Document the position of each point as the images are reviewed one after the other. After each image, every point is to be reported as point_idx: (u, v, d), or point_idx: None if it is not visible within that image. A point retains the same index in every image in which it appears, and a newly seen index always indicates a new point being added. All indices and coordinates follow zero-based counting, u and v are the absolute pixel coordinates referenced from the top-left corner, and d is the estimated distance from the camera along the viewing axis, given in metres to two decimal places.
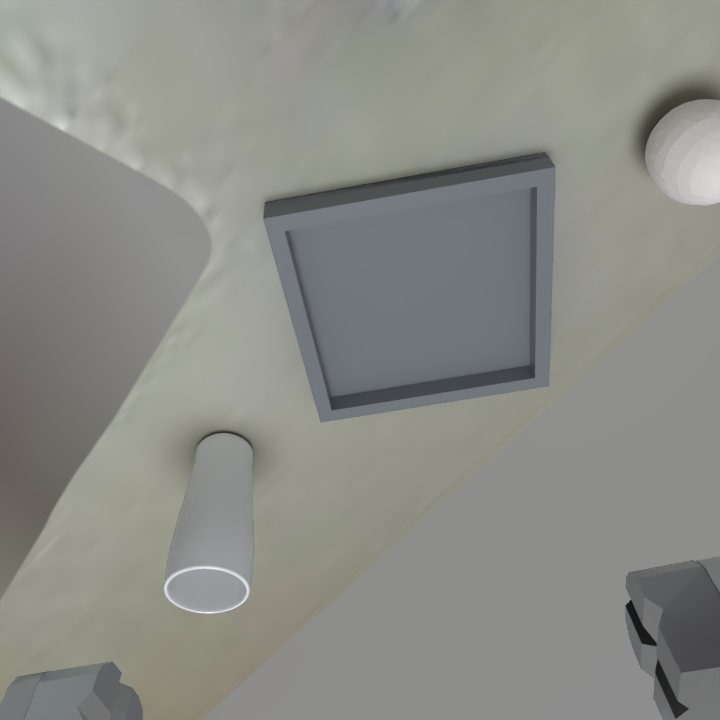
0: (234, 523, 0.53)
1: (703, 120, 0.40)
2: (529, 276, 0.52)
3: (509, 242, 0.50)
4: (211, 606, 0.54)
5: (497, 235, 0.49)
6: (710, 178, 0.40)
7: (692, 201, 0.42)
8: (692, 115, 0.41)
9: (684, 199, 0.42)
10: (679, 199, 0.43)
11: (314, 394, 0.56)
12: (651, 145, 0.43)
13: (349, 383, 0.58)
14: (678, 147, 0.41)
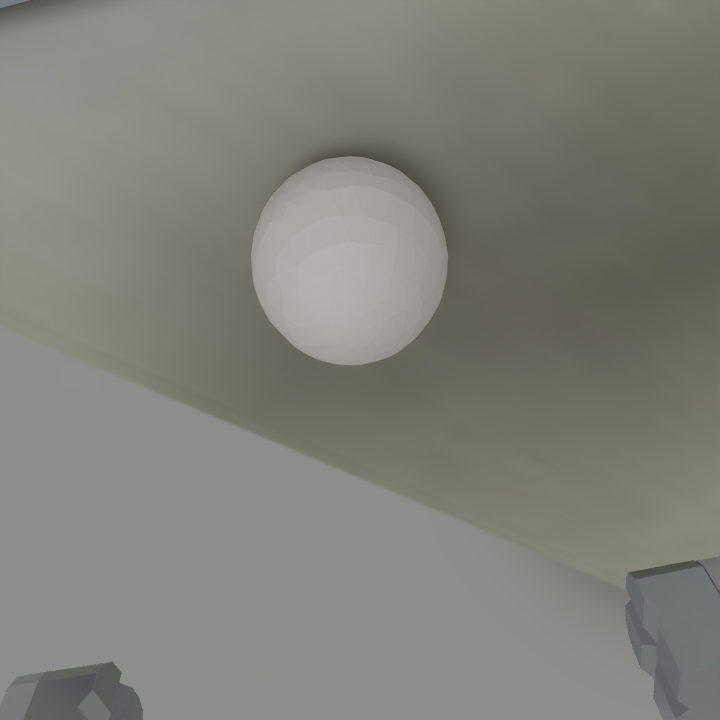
0: None
1: (436, 235, 0.20)
2: None
3: None
4: None
5: None
6: (349, 283, 0.18)
7: (275, 271, 0.19)
8: (433, 215, 0.20)
9: (274, 254, 0.19)
10: (268, 246, 0.19)
11: None
12: (357, 160, 0.20)
13: None
14: (385, 203, 0.19)
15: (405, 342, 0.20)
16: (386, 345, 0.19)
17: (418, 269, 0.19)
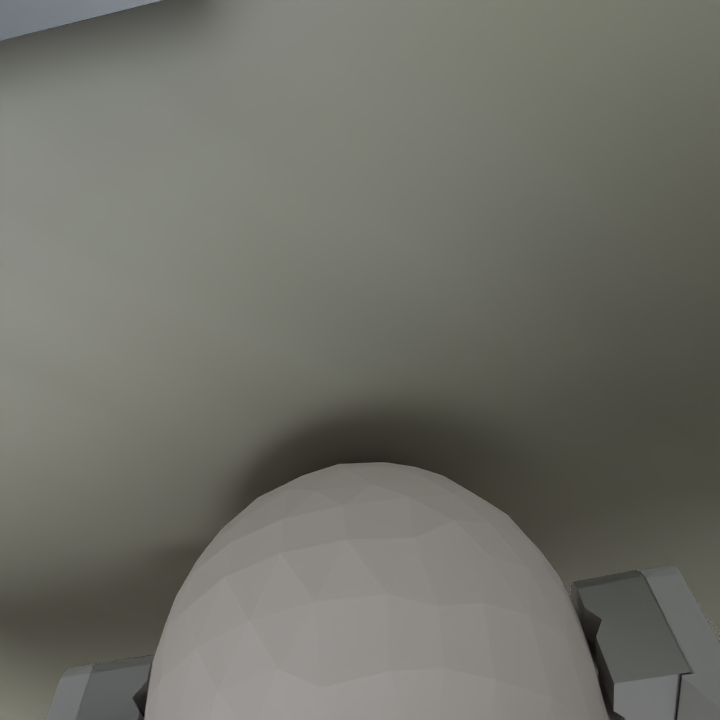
0: None
1: None
2: None
3: None
4: None
5: None
6: None
7: None
8: (582, 657, 0.08)
9: None
10: None
11: None
12: (391, 525, 0.08)
13: None
14: None
15: None
16: None
17: None
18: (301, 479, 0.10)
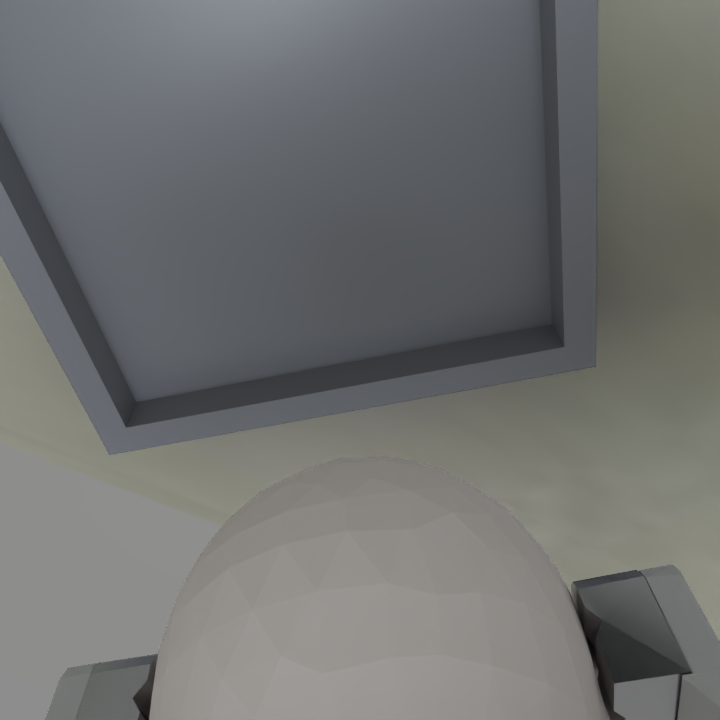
0: None
1: None
2: (349, 360, 0.27)
3: (424, 315, 0.26)
4: None
5: (440, 291, 0.26)
6: None
7: None
8: (578, 645, 0.08)
9: None
10: None
11: None
12: (392, 516, 0.08)
13: None
14: (479, 710, 0.07)
15: None
16: None
17: None
18: (303, 473, 0.10)
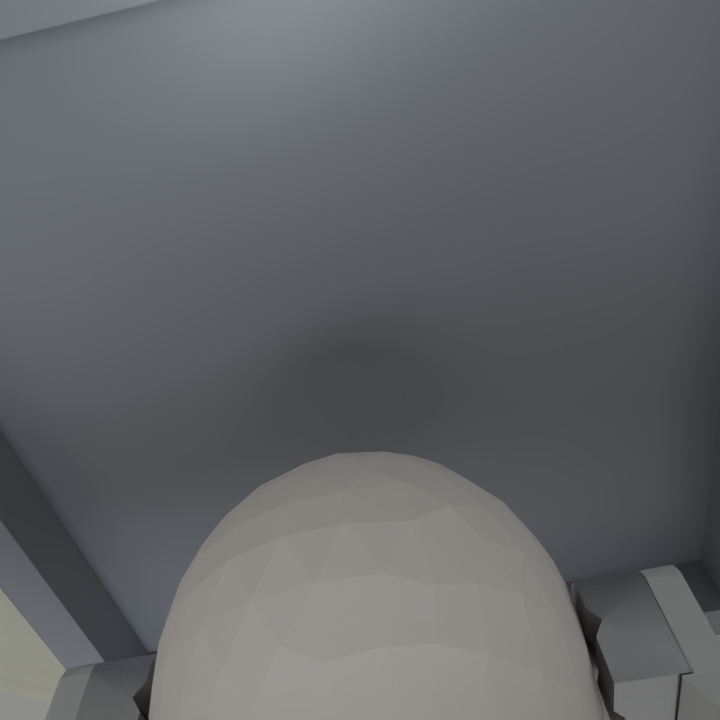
0: None
1: (591, 713, 0.08)
2: None
3: None
4: None
5: (557, 529, 0.19)
6: None
7: None
8: (574, 636, 0.08)
9: None
10: None
11: None
12: (389, 509, 0.09)
13: None
14: (474, 698, 0.07)
15: None
16: None
17: None
18: (301, 467, 0.10)
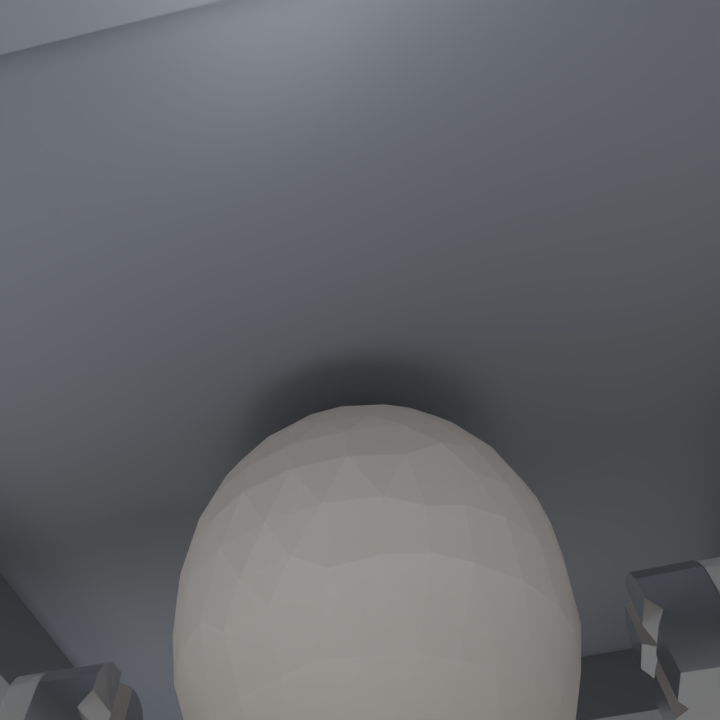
0: None
1: (567, 621, 0.09)
2: None
3: None
4: None
5: (578, 603, 0.17)
6: None
7: None
8: (553, 557, 0.09)
9: (209, 715, 0.08)
10: (197, 678, 0.09)
11: None
12: (386, 445, 0.10)
13: None
14: (461, 597, 0.08)
15: None
16: None
17: None
18: (308, 416, 0.11)
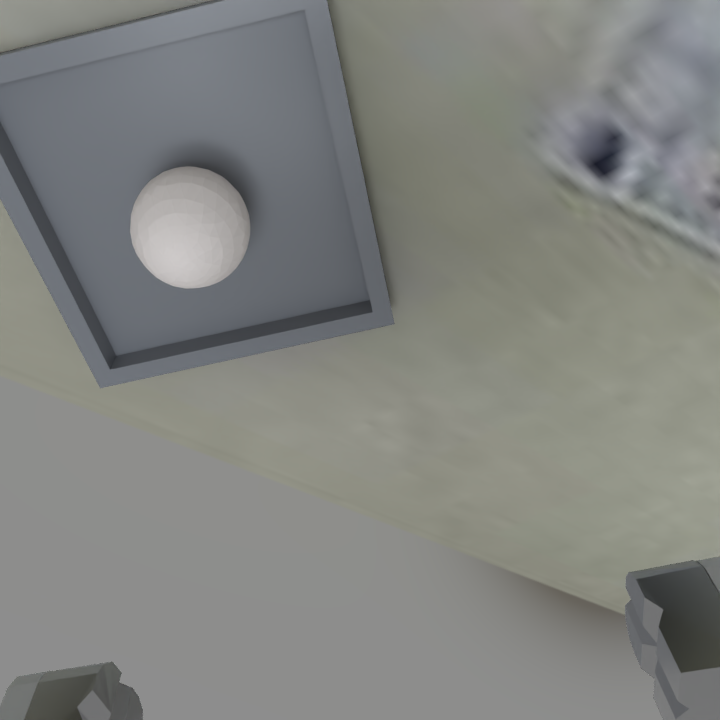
0: None
1: (232, 209, 0.35)
2: (248, 325, 0.44)
3: (291, 295, 0.43)
4: None
5: (298, 281, 0.43)
6: (175, 235, 0.33)
7: (138, 232, 0.34)
8: (233, 198, 0.35)
9: (137, 222, 0.34)
10: (135, 219, 0.34)
11: None
12: (188, 168, 0.35)
13: (21, 115, 0.36)
14: (197, 191, 0.33)
15: (218, 271, 0.35)
16: (204, 271, 0.34)
17: (217, 227, 0.33)
18: None
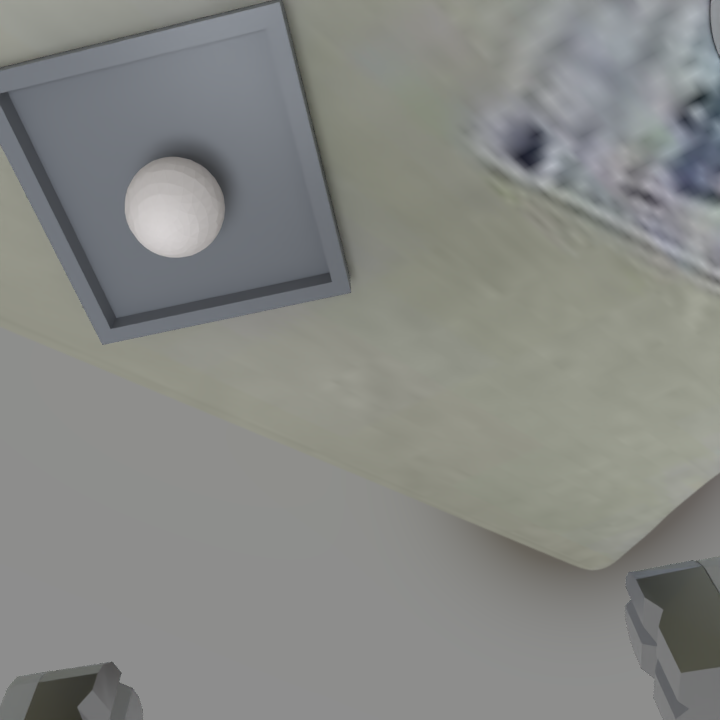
0: None
1: (207, 192, 0.42)
2: (228, 293, 0.52)
3: (263, 267, 0.51)
4: None
5: (269, 255, 0.50)
6: (159, 212, 0.40)
7: (130, 209, 0.41)
8: (209, 182, 0.43)
9: (130, 202, 0.41)
10: (128, 199, 0.42)
11: (18, 68, 0.41)
12: (172, 158, 0.43)
13: (37, 113, 0.44)
14: (178, 177, 0.41)
15: (195, 242, 0.42)
16: (183, 242, 0.41)
17: (194, 206, 0.41)
18: None
